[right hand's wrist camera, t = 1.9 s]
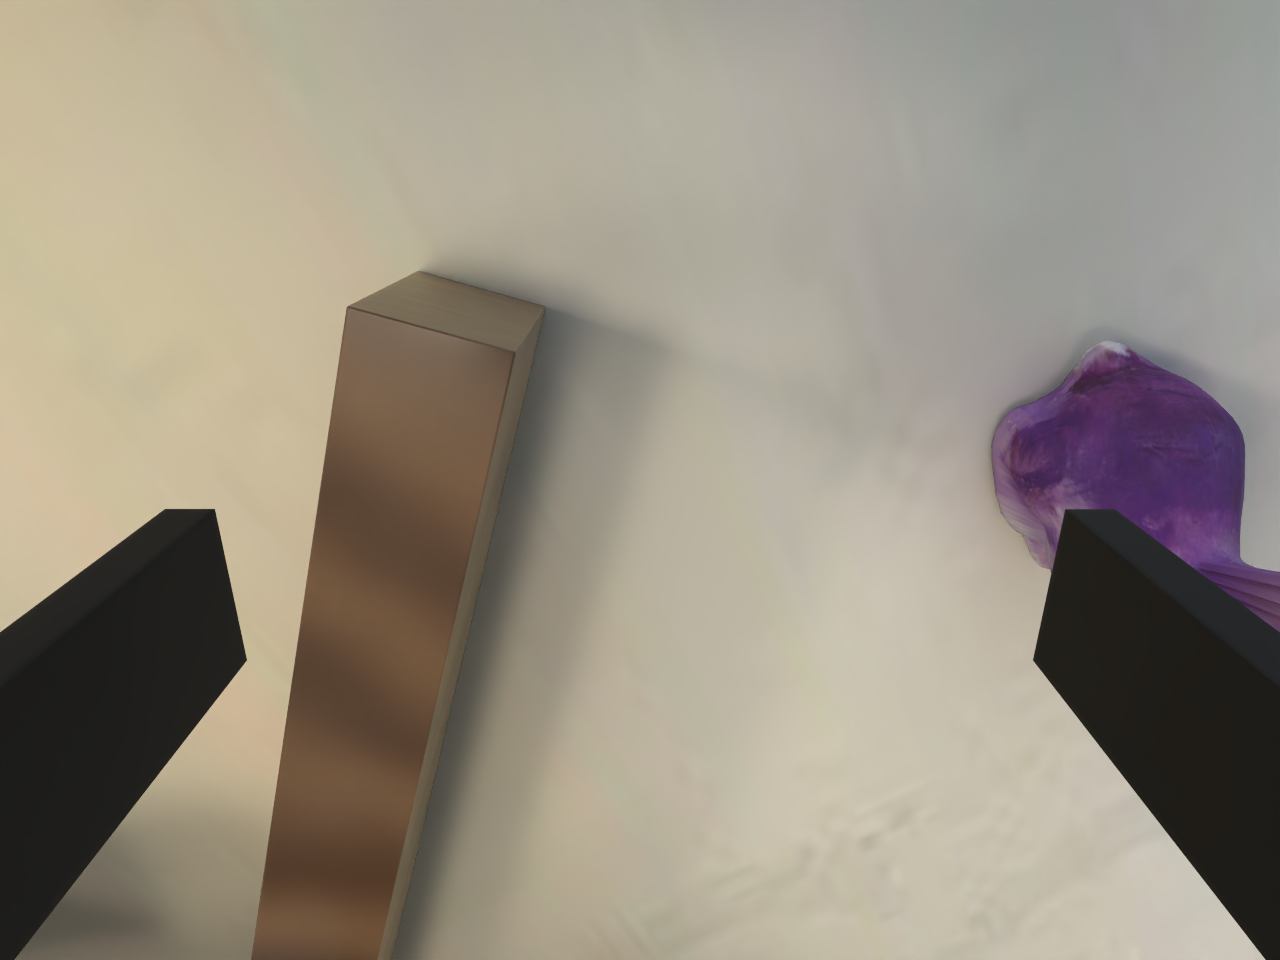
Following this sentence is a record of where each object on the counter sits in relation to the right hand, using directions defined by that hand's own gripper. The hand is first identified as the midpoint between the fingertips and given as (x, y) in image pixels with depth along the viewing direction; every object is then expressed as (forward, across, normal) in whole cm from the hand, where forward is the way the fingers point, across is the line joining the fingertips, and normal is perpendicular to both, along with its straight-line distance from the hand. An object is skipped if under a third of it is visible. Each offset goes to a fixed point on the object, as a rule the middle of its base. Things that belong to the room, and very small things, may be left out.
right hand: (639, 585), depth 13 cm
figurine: (+22, +20, -7) cm, 30 cm away
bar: (+22, -17, -35) cm, 45 cm away
